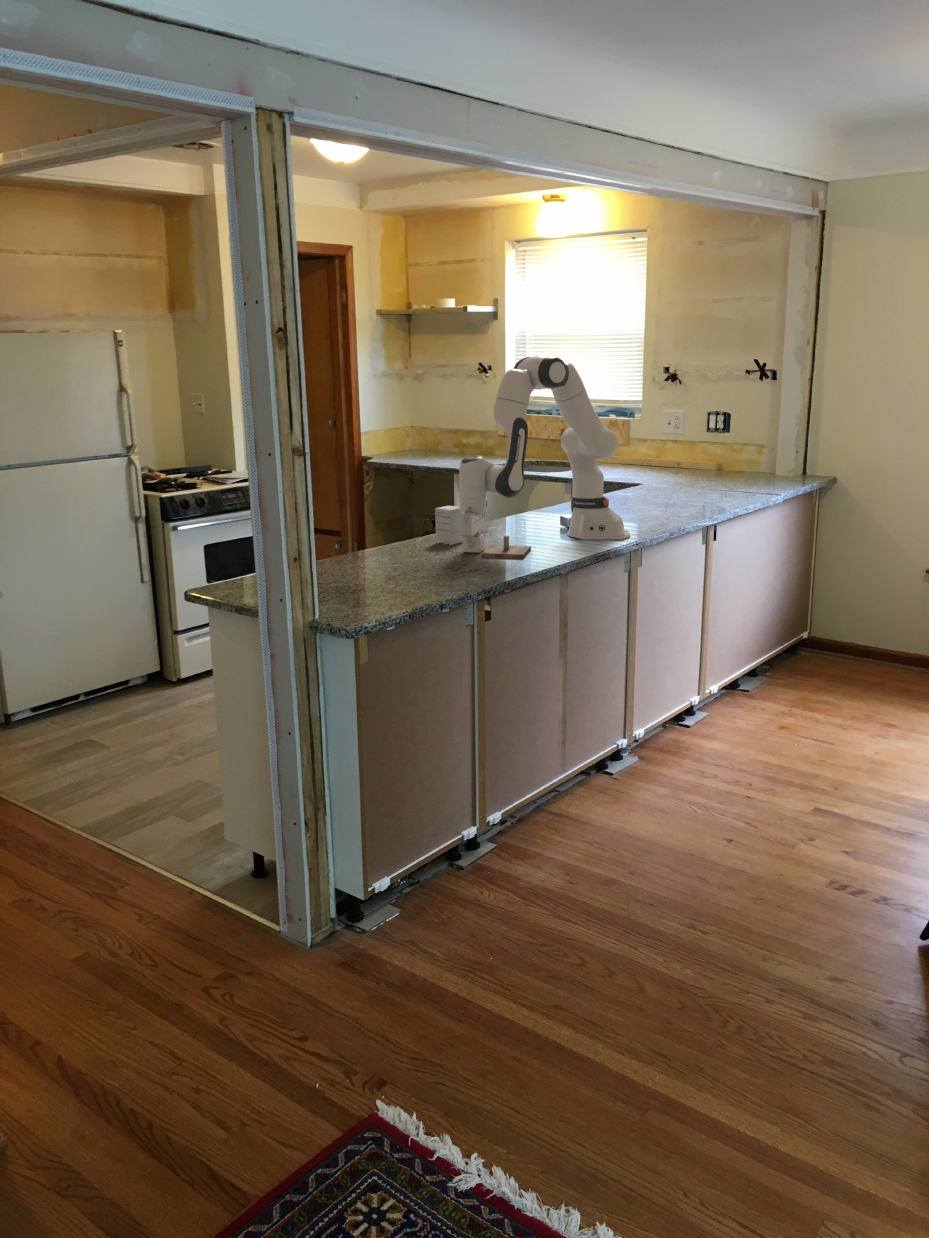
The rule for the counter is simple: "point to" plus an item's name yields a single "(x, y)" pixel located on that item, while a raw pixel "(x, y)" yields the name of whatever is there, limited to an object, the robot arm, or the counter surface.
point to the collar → (478, 543)
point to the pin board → (506, 551)
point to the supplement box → (448, 525)
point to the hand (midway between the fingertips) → (473, 545)
